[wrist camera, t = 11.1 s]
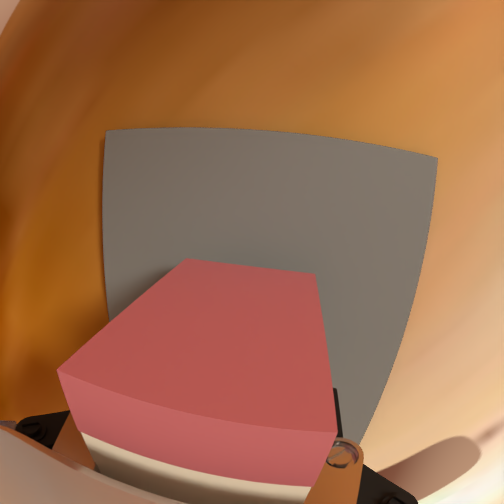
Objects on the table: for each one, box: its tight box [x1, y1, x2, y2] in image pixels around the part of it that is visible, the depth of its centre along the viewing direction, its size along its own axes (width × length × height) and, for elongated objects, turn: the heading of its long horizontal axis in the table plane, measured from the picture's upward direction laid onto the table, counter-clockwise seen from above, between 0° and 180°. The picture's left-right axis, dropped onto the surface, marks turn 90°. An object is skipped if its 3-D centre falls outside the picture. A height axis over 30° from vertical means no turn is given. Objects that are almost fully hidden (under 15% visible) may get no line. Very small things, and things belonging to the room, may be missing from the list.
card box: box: [57, 258, 338, 504], centre depth 8 cm, size 8×4×7 cm, turn 175°
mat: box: [102, 128, 438, 445], centre depth 14 cm, size 14×18×1 cm
